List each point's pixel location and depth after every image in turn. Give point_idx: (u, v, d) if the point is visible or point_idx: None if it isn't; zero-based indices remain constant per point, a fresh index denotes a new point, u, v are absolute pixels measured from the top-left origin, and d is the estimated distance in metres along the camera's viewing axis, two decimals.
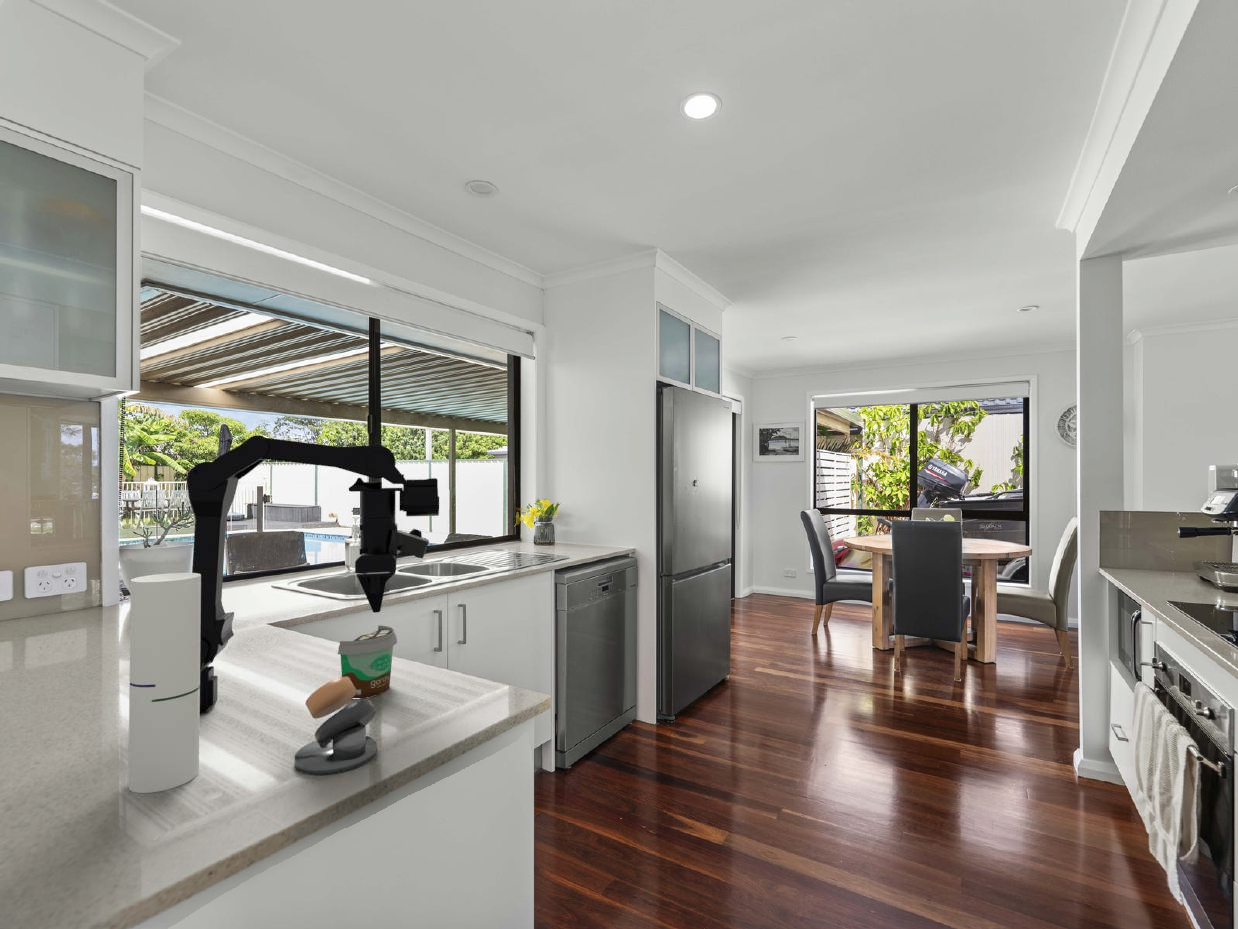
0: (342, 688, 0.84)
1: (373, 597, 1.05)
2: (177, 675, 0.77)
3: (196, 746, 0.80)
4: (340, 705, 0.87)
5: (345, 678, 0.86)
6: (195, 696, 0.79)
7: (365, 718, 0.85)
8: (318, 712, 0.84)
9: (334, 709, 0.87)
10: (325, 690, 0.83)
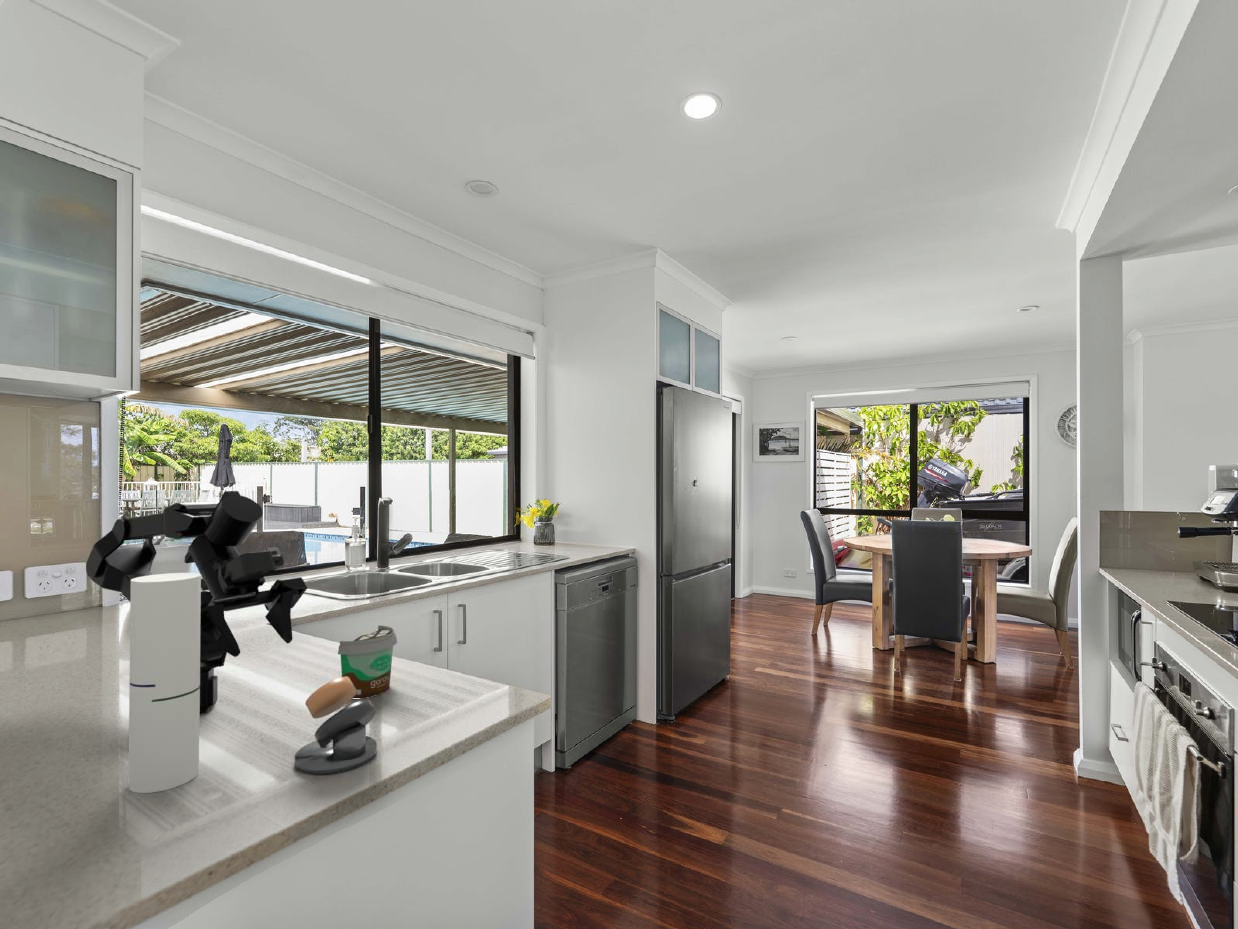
0: (342, 688, 0.84)
1: (221, 643, 0.89)
2: (177, 675, 0.77)
3: (196, 746, 0.80)
4: (340, 705, 0.87)
5: (345, 678, 0.86)
6: (195, 696, 0.79)
7: (365, 718, 0.85)
8: (318, 712, 0.84)
9: (334, 709, 0.87)
10: (325, 690, 0.83)
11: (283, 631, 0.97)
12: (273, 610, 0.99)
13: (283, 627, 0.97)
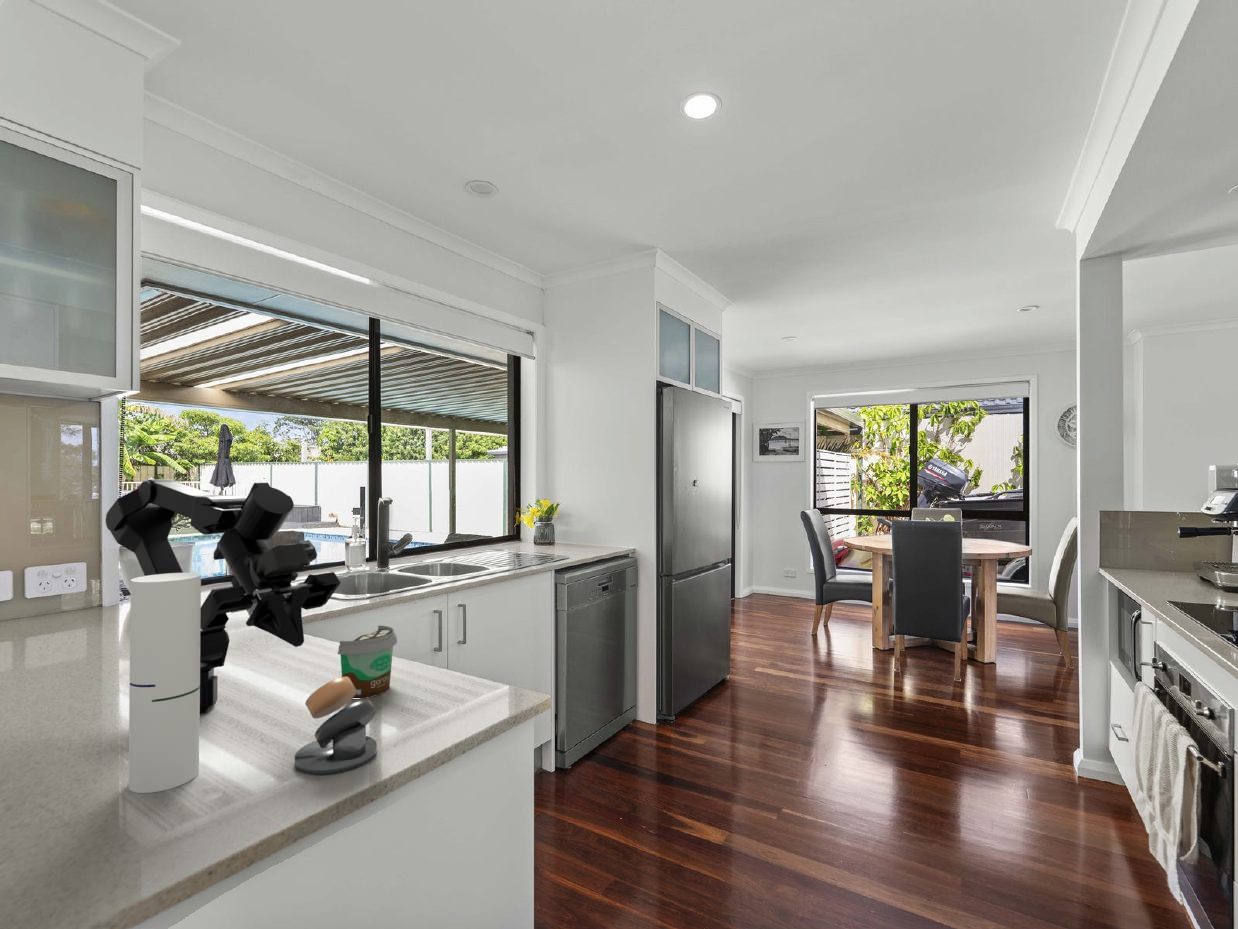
0: (342, 688, 0.84)
1: (282, 633, 0.89)
2: (177, 675, 0.77)
3: (196, 746, 0.80)
4: (340, 705, 0.87)
5: (345, 678, 0.86)
6: (195, 696, 0.79)
7: (365, 718, 0.85)
8: (318, 712, 0.84)
9: (334, 709, 0.87)
10: (325, 690, 0.83)
11: None
12: None
13: None
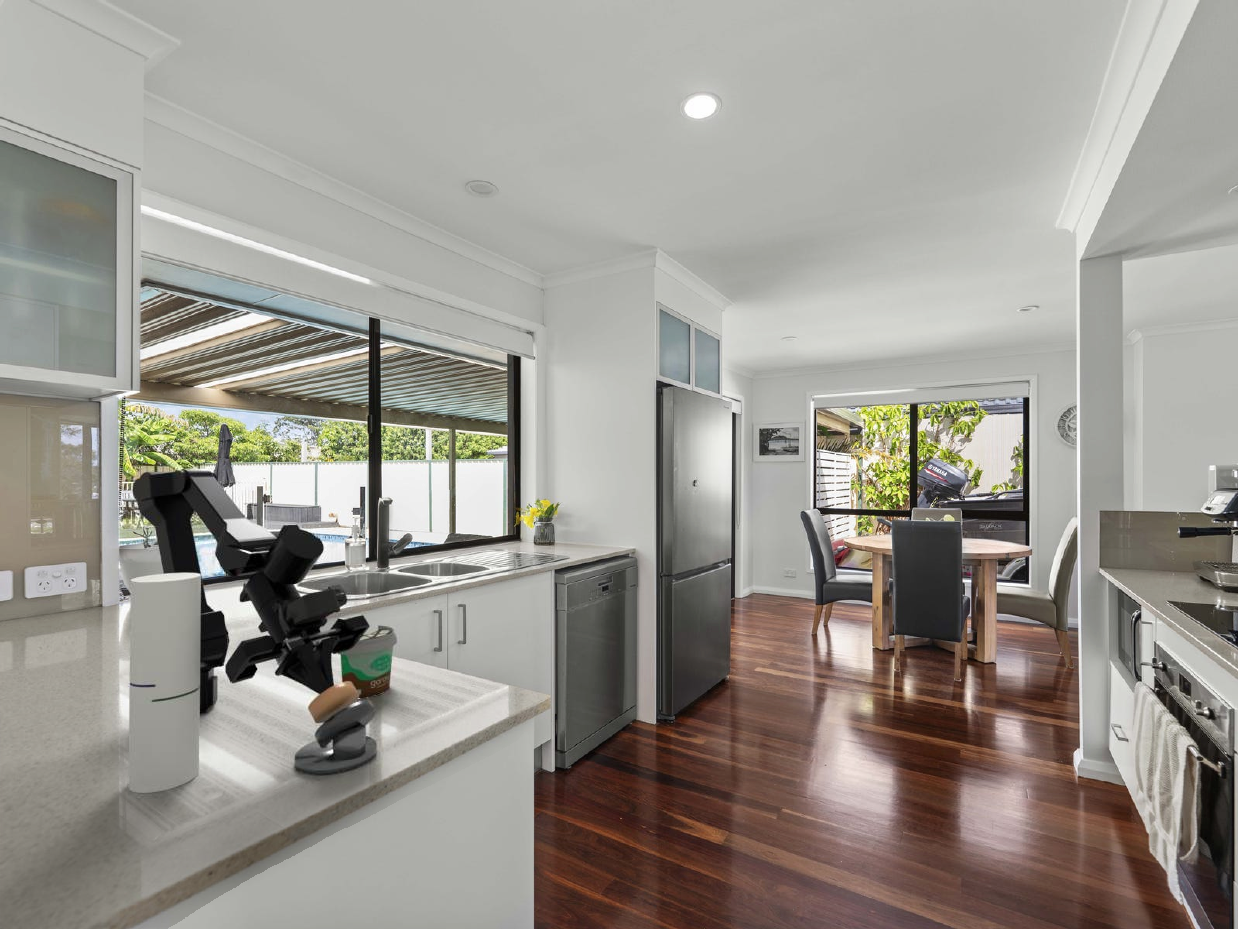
0: (345, 693, 0.84)
1: (312, 683, 0.86)
2: (177, 675, 0.77)
3: (196, 746, 0.80)
4: None
5: (347, 683, 0.85)
6: (195, 696, 0.79)
7: (365, 718, 0.85)
8: (321, 717, 0.84)
9: None
10: (328, 695, 0.83)
11: None
12: None
13: None
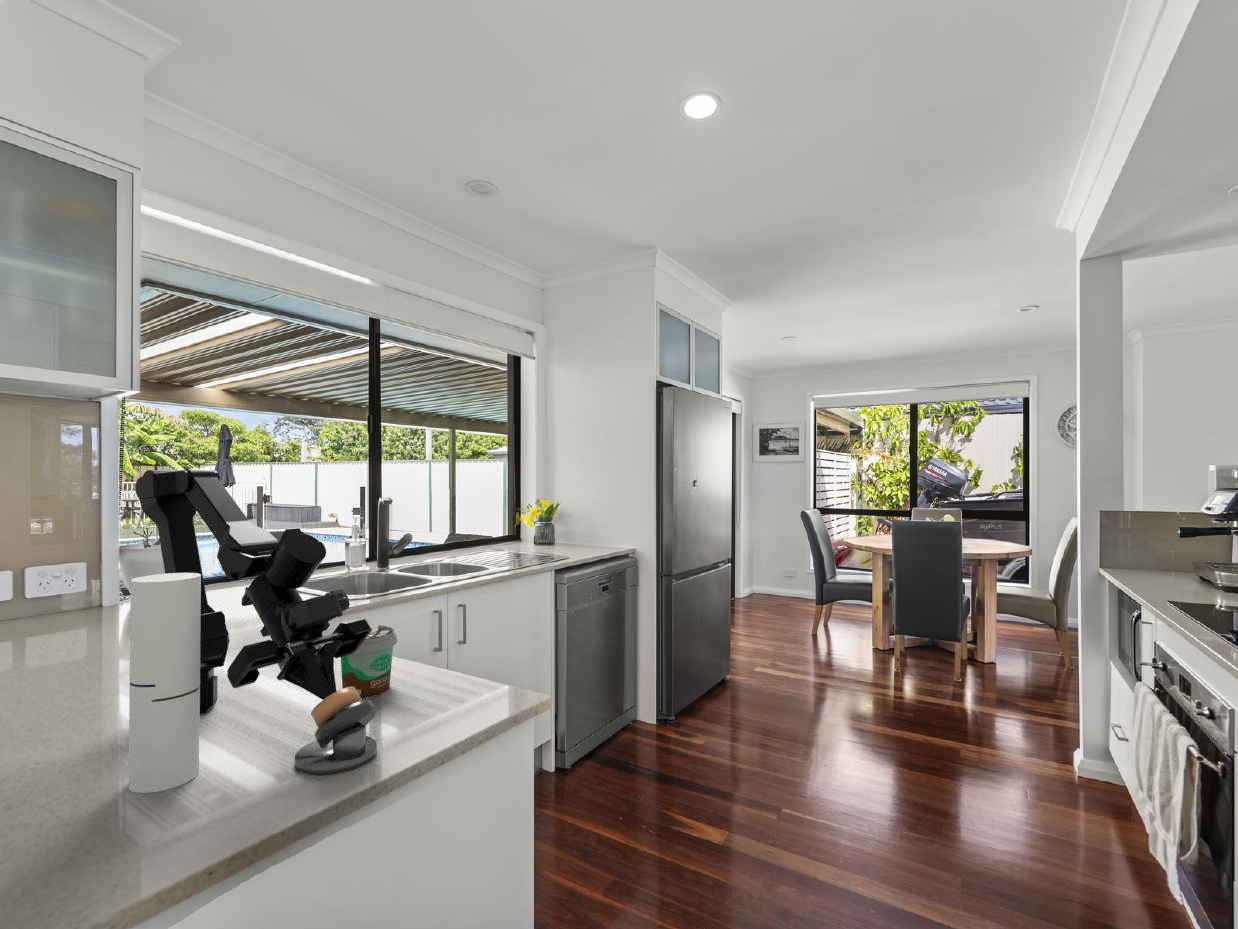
0: (348, 698, 0.84)
1: (314, 688, 0.85)
2: (177, 675, 0.77)
3: (196, 746, 0.80)
4: None
5: (350, 688, 0.85)
6: (195, 696, 0.79)
7: (365, 718, 0.85)
8: None
9: None
10: (331, 700, 0.83)
11: None
12: None
13: None
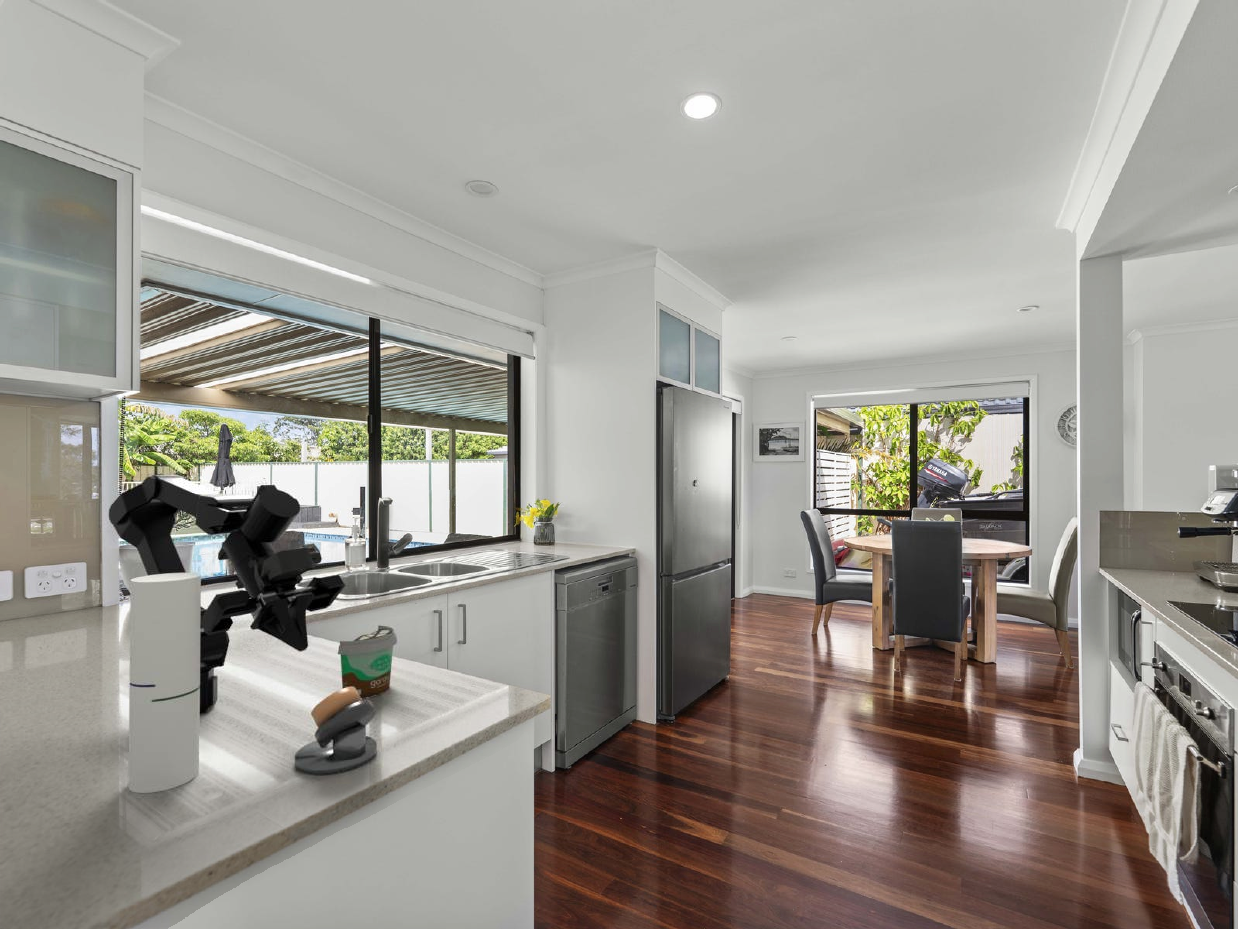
0: (348, 698, 0.84)
1: (286, 637, 0.89)
2: (177, 675, 0.77)
3: (196, 746, 0.80)
4: None
5: (350, 688, 0.85)
6: (195, 696, 0.79)
7: (365, 718, 0.85)
8: None
9: None
10: (331, 700, 0.83)
11: None
12: None
13: None
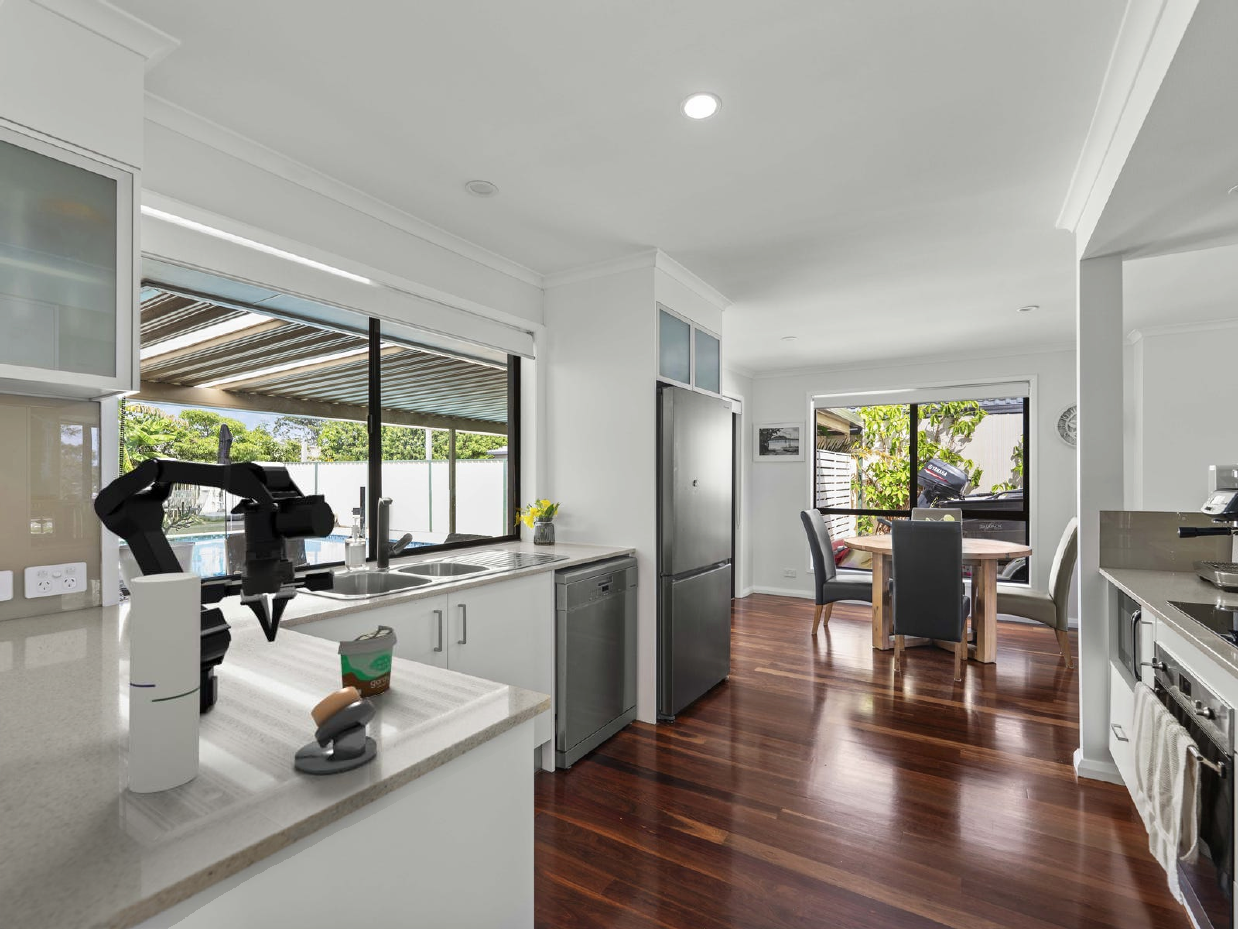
0: (348, 698, 0.84)
1: None
2: (177, 675, 0.77)
3: (196, 746, 0.80)
4: None
5: (350, 688, 0.85)
6: (195, 696, 0.79)
7: (365, 718, 0.85)
8: None
9: None
10: (331, 700, 0.83)
11: None
12: None
13: None
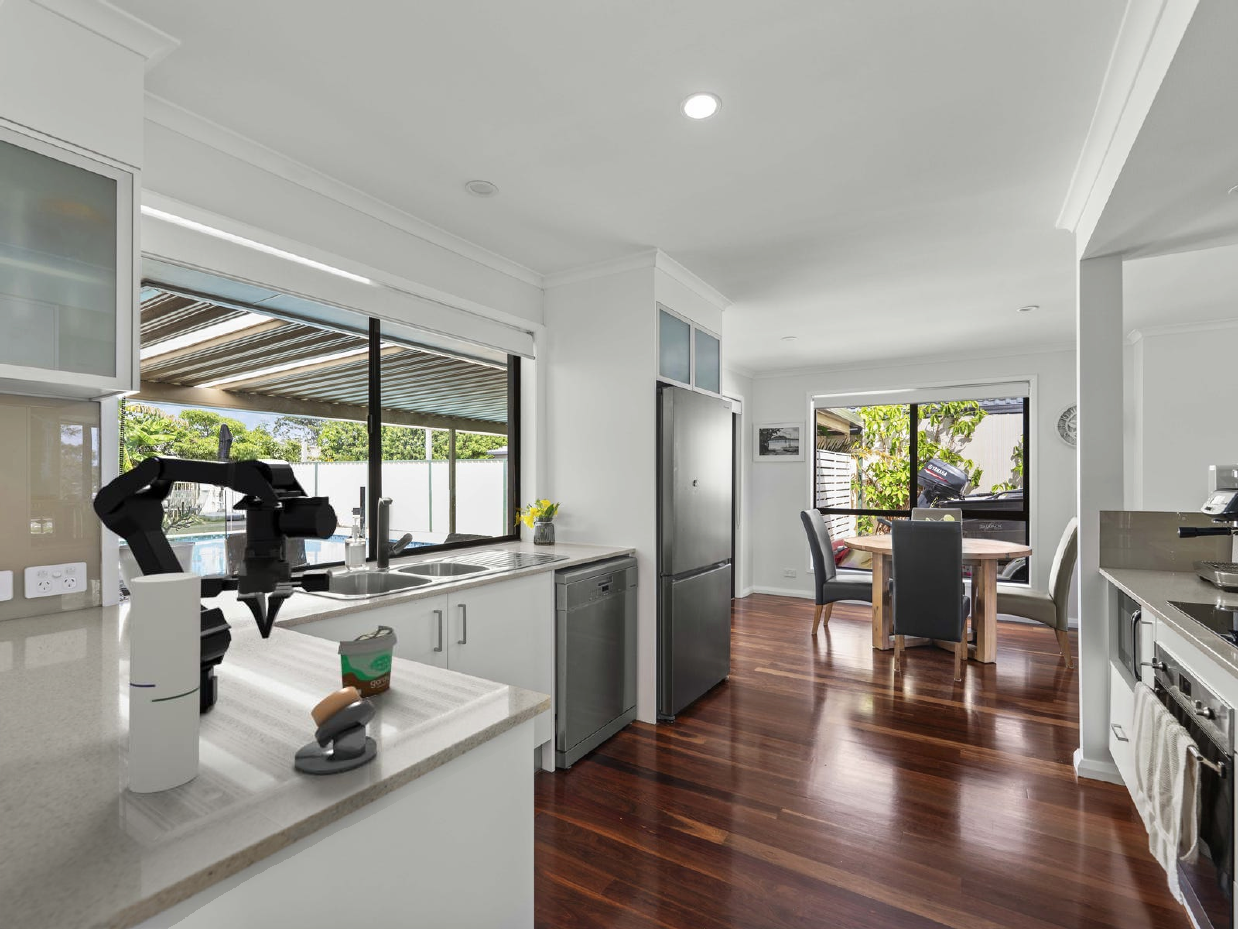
0: (348, 698, 0.84)
1: None
2: (177, 675, 0.77)
3: (196, 746, 0.80)
4: None
5: (350, 688, 0.85)
6: (195, 696, 0.79)
7: (365, 718, 0.85)
8: None
9: None
10: (331, 700, 0.83)
11: (266, 626, 1.00)
12: None
13: None
